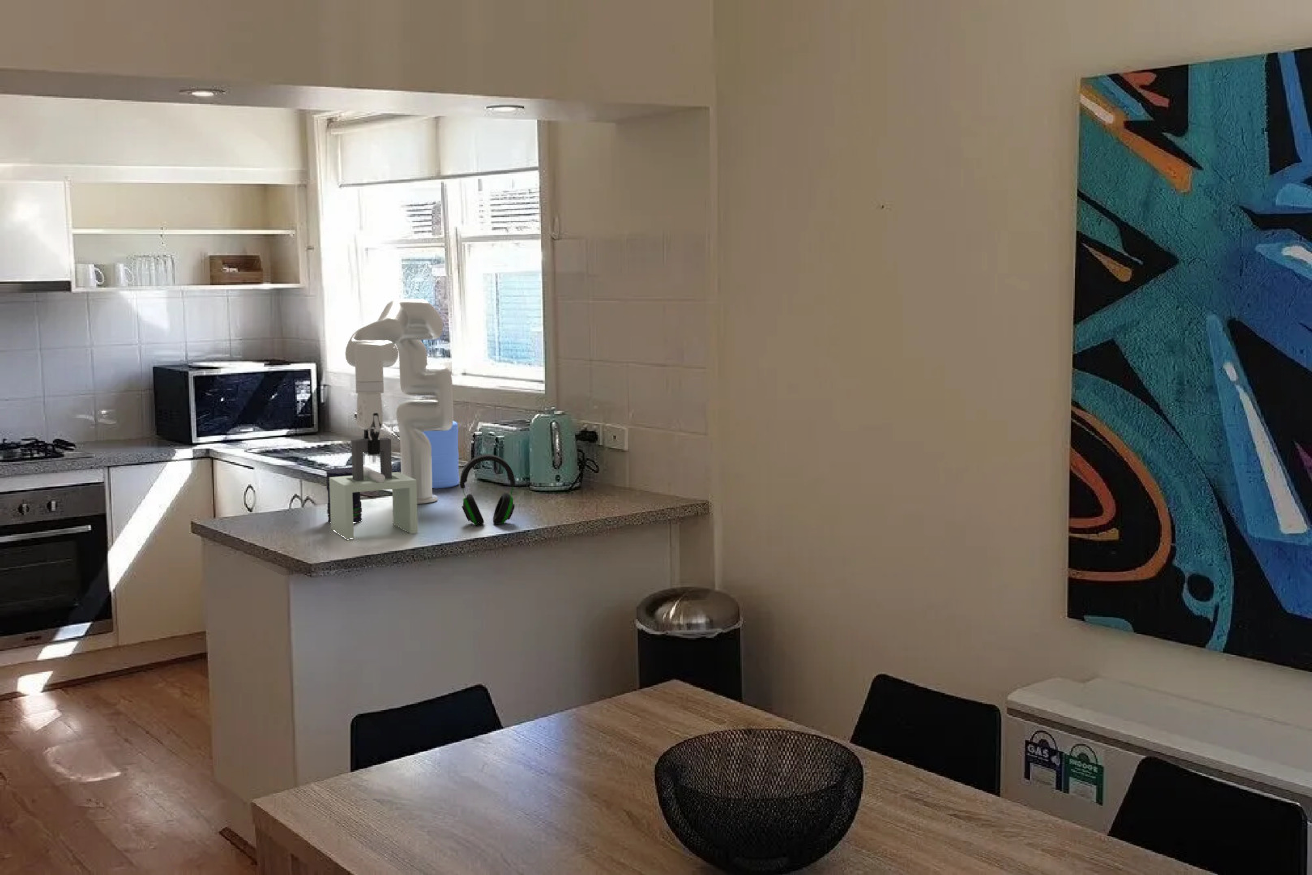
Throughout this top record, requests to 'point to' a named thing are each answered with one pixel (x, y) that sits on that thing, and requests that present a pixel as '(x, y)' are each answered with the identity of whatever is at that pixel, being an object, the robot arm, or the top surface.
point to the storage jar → (356, 495)
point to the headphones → (505, 501)
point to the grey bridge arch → (362, 446)
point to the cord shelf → (400, 485)
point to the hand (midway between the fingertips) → (371, 452)
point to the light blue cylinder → (444, 457)
